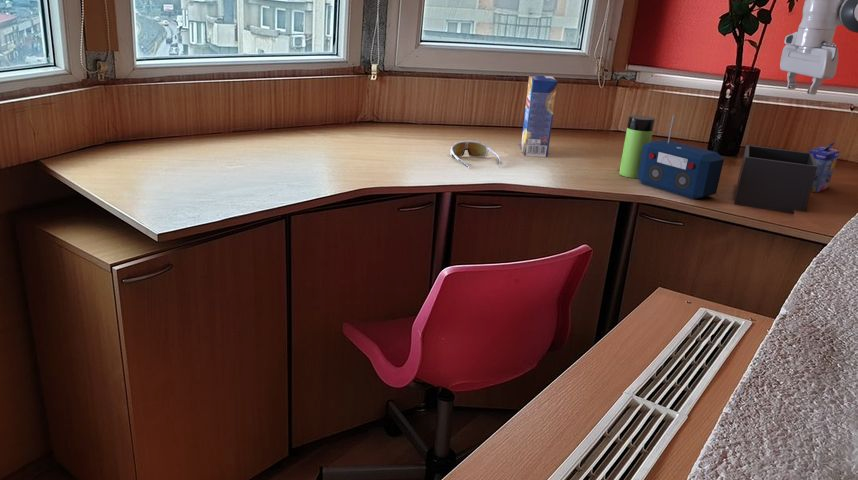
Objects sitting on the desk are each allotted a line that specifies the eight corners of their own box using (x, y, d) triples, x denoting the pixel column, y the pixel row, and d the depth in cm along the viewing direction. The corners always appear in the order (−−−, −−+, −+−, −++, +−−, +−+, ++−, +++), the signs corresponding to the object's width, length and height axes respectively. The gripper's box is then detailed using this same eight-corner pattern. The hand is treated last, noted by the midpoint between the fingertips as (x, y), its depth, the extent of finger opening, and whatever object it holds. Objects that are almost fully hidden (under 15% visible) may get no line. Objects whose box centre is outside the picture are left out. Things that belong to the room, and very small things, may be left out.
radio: (633, 182, 207) (646, 113, 199) (652, 179, 212) (665, 111, 204) (698, 202, 191) (714, 127, 184) (716, 197, 196) (733, 125, 189)
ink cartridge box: (816, 196, 203) (831, 145, 198) (796, 191, 207) (809, 141, 201) (828, 190, 209) (843, 141, 204) (808, 186, 213) (822, 138, 208)
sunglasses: (484, 154, 229) (487, 140, 227) (504, 173, 217) (507, 158, 214) (443, 156, 225) (445, 141, 222) (461, 175, 213) (464, 159, 210)
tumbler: (618, 171, 219) (627, 114, 213) (643, 173, 218) (653, 115, 211) (620, 177, 212) (630, 118, 206) (646, 179, 211) (657, 120, 204)
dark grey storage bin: (800, 198, 200) (812, 153, 195) (803, 215, 185) (817, 166, 180) (735, 188, 206) (746, 144, 202) (734, 204, 191) (745, 157, 187)
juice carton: (547, 157, 231) (557, 81, 222) (524, 155, 231) (533, 79, 222) (542, 148, 242) (552, 76, 233) (520, 147, 243) (529, 74, 234)
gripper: (850, 43, 186) (835, 97, 191) (802, 37, 205) (790, 86, 210) (827, 42, 185) (813, 97, 190) (781, 36, 204) (770, 86, 209)
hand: (801, 91), depth 200 cm, fingers open, 8 cm apart
